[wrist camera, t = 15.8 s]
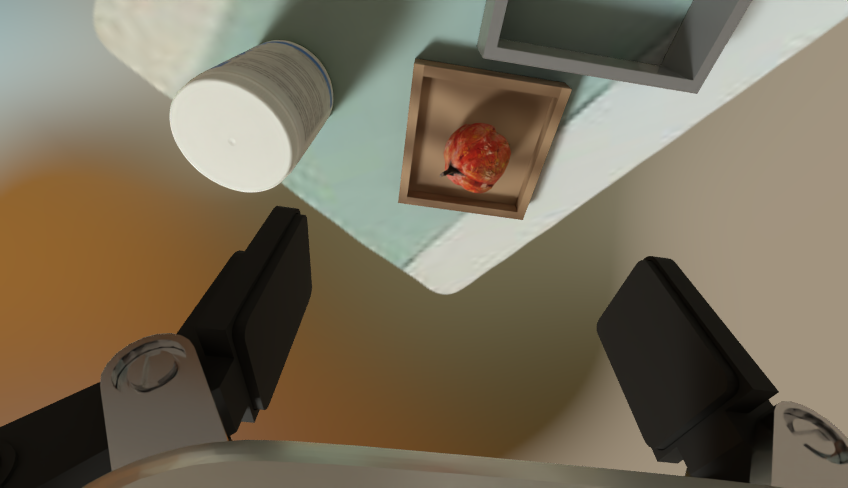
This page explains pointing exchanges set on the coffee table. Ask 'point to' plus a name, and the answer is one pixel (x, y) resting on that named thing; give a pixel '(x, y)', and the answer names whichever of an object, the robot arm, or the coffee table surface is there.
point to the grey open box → (680, 70)
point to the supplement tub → (253, 115)
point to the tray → (467, 104)
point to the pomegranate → (476, 157)
